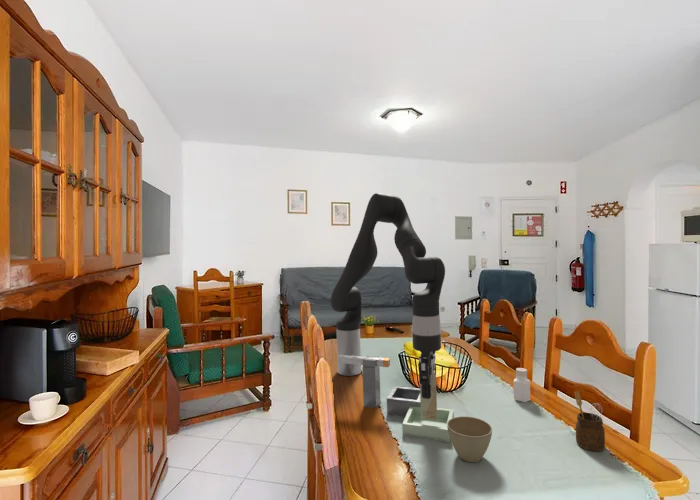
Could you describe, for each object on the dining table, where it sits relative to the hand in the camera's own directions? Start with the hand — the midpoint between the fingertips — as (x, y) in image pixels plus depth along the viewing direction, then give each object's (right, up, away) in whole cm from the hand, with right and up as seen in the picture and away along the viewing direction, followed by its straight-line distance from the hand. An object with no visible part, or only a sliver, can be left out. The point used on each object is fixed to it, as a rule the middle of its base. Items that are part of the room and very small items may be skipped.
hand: (428, 393), depth 102 cm
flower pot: (+7, -10, -14) cm, 18 cm away
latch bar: (-17, +3, +17) cm, 24 cm away
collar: (-4, -9, +12) cm, 16 cm away
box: (0, -6, 0) cm, 6 cm away
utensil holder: (+37, -9, -11) cm, 39 cm away
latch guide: (-14, -9, +16) cm, 23 cm away
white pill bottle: (+33, -8, +16) cm, 37 cm away
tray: (0, -9, 0) cm, 9 cm away
